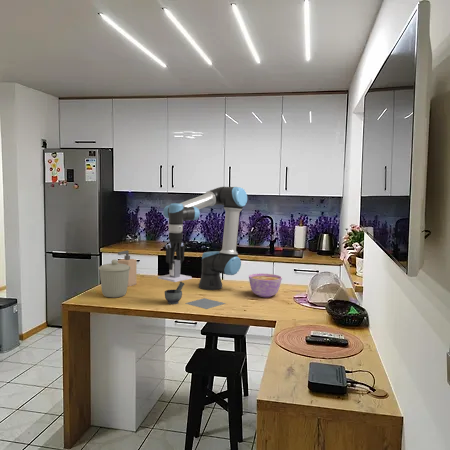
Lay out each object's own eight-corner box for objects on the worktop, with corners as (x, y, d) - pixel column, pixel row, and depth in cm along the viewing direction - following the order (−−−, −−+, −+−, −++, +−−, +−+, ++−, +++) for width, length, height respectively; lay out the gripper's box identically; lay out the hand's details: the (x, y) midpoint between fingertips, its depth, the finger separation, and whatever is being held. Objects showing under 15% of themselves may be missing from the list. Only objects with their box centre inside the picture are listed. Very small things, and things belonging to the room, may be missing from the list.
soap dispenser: (125, 282, 294) (126, 249, 292) (136, 284, 290) (136, 250, 288) (113, 286, 282) (113, 251, 280) (124, 288, 278) (124, 253, 277)
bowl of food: (287, 296, 269) (288, 277, 268) (267, 301, 255) (268, 281, 254) (261, 290, 283) (262, 272, 282) (241, 295, 268) (241, 276, 267)
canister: (92, 295, 259) (92, 259, 257) (118, 290, 272) (119, 256, 270) (109, 301, 246) (109, 263, 245) (136, 296, 260) (137, 260, 258)
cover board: (175, 275, 253) (175, 257, 252) (191, 278, 245) (192, 260, 244) (157, 278, 243) (158, 260, 242) (174, 282, 235) (175, 263, 234)
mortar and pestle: (167, 306, 239) (167, 284, 237) (161, 302, 247) (162, 281, 246) (187, 305, 243) (187, 283, 242) (180, 300, 252) (181, 279, 251)
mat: (204, 299, 257) (204, 298, 257) (225, 304, 247) (225, 303, 247) (184, 304, 244) (184, 303, 244) (206, 310, 234) (206, 309, 234)
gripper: (168, 233, 233) (168, 278, 235) (191, 231, 246) (190, 273, 248) (159, 232, 237) (158, 276, 240) (181, 230, 251) (181, 271, 253)
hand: (174, 274), depth 244 cm, fingers closed on cover board, 4 cm apart
